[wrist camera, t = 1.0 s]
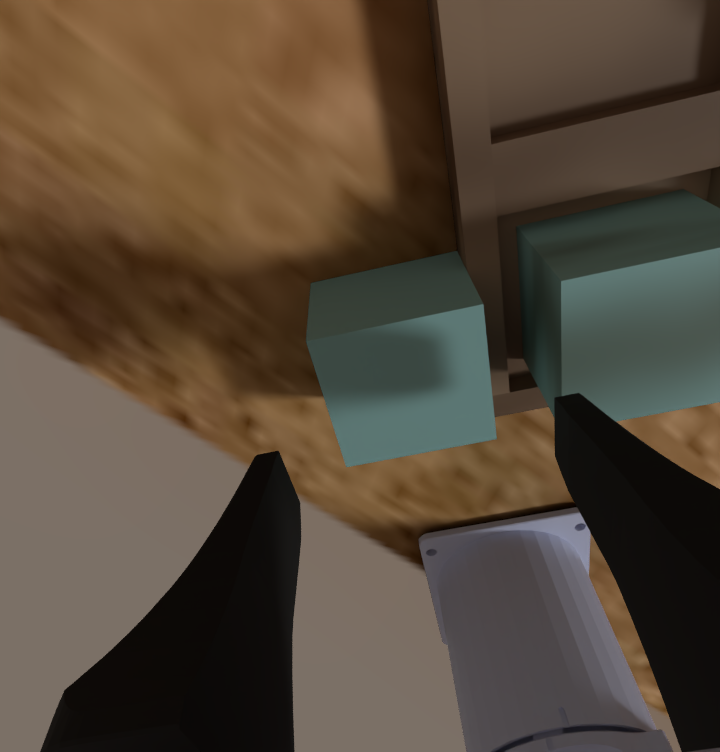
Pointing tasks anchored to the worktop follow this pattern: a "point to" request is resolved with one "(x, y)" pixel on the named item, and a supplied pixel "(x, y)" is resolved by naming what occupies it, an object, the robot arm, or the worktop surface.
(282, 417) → the worktop surface
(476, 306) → the teal block
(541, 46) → the puzzle tray
